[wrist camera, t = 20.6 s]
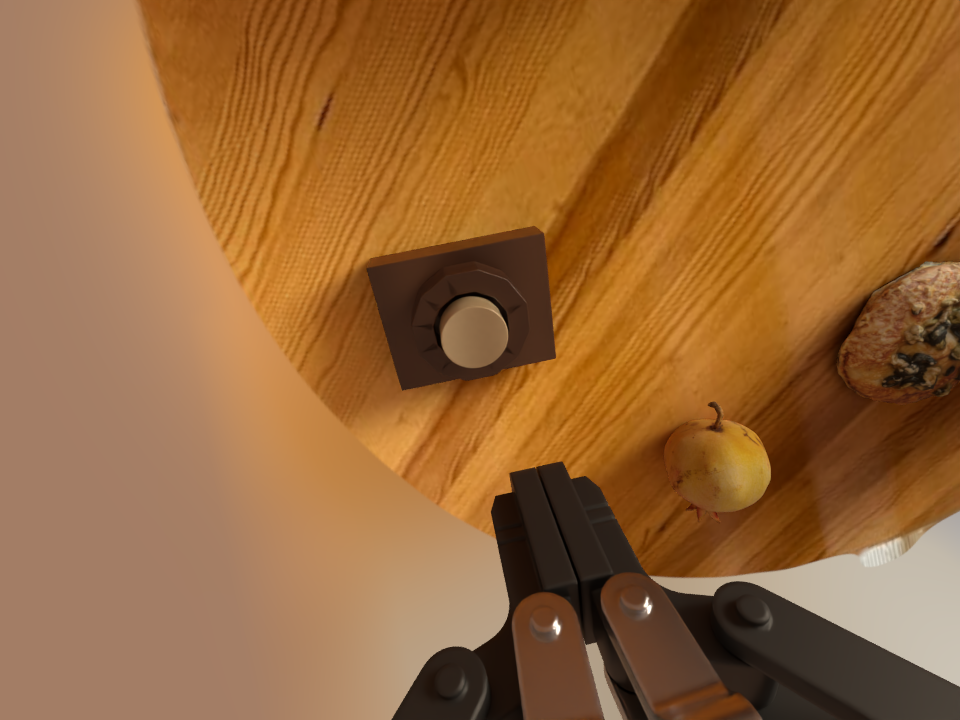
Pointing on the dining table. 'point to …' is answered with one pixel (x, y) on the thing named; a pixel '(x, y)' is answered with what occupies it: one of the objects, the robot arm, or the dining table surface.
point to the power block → (450, 276)
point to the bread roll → (907, 338)
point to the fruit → (717, 465)
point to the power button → (473, 332)
